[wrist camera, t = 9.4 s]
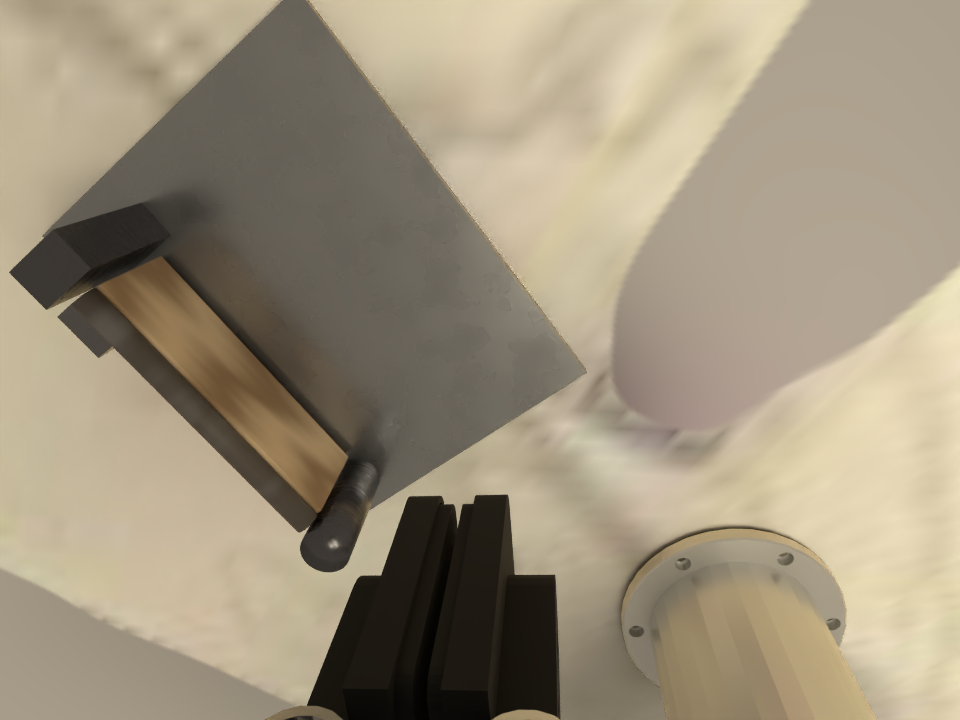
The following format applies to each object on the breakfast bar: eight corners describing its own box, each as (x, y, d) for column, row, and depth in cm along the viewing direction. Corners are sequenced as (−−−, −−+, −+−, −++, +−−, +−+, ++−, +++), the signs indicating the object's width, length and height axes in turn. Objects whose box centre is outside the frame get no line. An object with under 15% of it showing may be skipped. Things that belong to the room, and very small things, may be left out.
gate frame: (585, 369, 35) (596, 434, 28) (332, 529, 40) (293, 615, 34) (300, -12, 29) (232, -38, 23) (48, 234, 34) (-65, 268, 28)
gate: (348, 456, 37) (314, 522, 31) (328, 470, 37) (292, 538, 32) (161, 255, 33) (86, 290, 28) (141, 273, 34) (64, 311, 28)
